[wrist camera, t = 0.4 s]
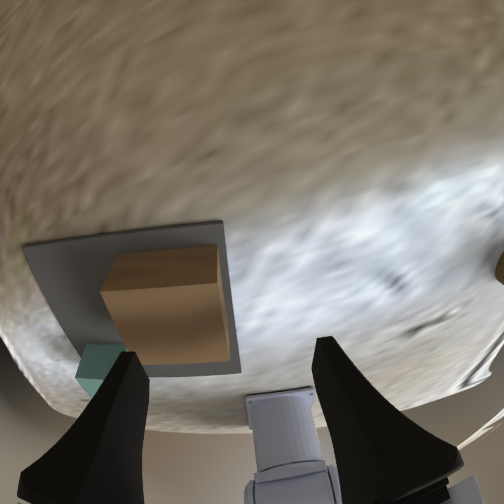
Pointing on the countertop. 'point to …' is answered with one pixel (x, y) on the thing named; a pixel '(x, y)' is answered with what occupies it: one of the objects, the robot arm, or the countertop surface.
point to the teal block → (97, 365)
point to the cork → (500, 270)
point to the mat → (94, 275)
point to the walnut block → (170, 305)
